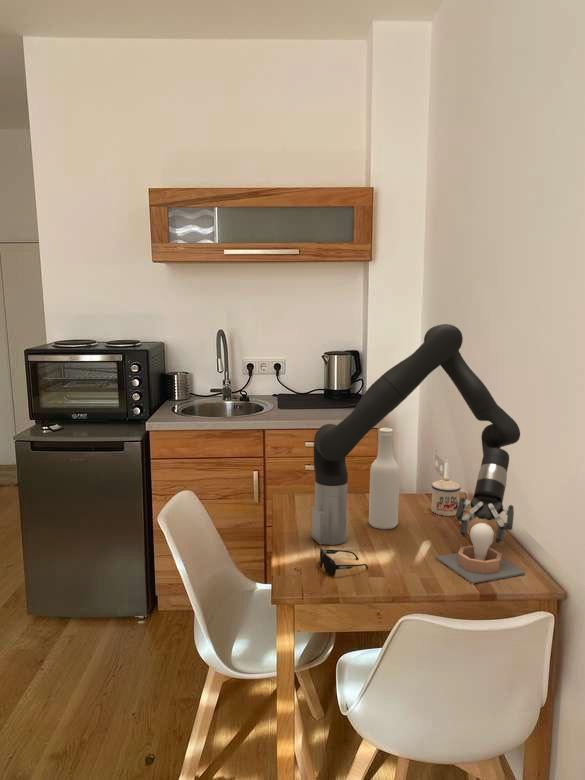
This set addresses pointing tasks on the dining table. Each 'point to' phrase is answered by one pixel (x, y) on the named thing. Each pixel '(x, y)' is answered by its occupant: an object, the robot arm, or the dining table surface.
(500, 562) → the ring holder
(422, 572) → the dining table surface
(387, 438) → the alcohol
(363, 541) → the dining table surface
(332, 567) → the sunglasses
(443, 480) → the teacup with lid
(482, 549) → the lightbulb
